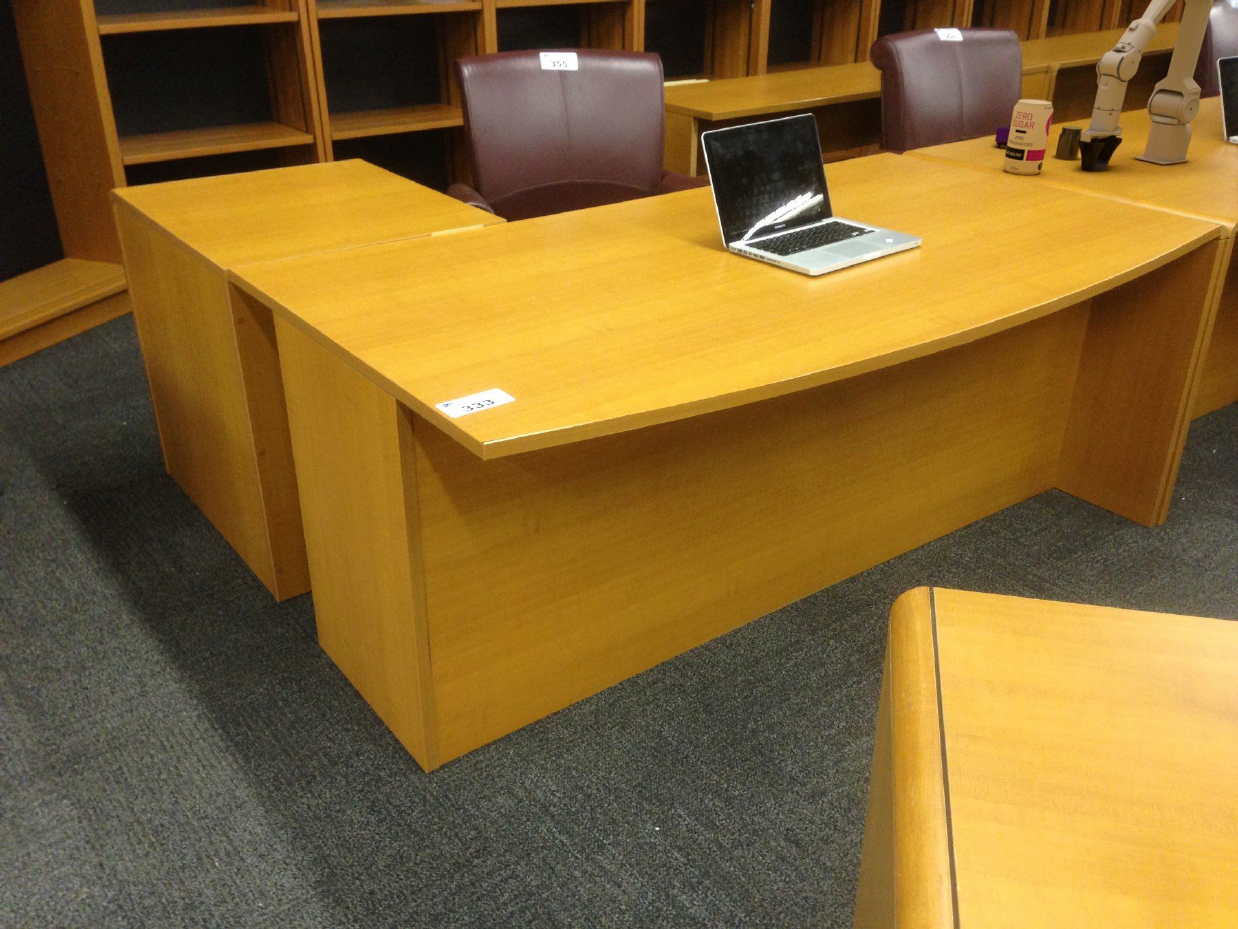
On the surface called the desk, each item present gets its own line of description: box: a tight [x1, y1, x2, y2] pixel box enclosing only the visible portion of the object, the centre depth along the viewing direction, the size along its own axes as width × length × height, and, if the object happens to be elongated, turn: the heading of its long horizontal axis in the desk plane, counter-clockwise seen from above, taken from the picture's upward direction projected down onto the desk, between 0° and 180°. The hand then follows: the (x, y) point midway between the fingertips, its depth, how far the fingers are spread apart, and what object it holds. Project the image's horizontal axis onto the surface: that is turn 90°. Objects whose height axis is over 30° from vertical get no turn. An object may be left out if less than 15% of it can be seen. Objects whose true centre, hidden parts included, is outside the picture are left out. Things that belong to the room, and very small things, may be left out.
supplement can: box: [1002, 98, 1054, 176], centre depth 232 cm, size 8×8×15 cm
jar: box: [1054, 125, 1083, 161], centre depth 248 cm, size 5×5×7 cm
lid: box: [1080, 159, 1110, 172], centre depth 239 cm, size 6×6×2 cm
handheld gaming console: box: [994, 124, 1011, 150], centre depth 262 cm, size 9×5×15 cm
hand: (1093, 170), depth 240 cm, fingers closed on lid, 5 cm apart
